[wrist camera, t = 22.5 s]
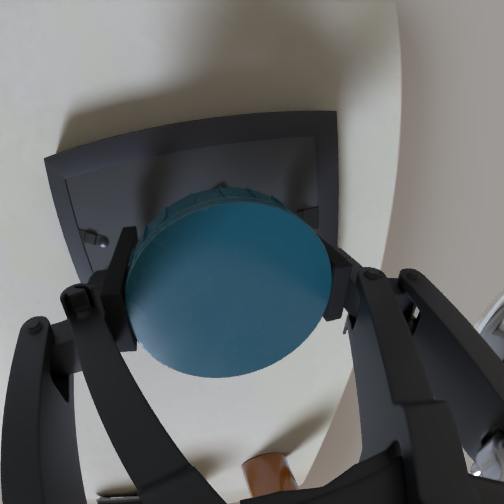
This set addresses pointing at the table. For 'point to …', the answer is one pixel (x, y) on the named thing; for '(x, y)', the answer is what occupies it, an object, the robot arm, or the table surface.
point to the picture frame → (193, 175)
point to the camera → (119, 500)
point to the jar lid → (226, 283)
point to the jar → (268, 475)
